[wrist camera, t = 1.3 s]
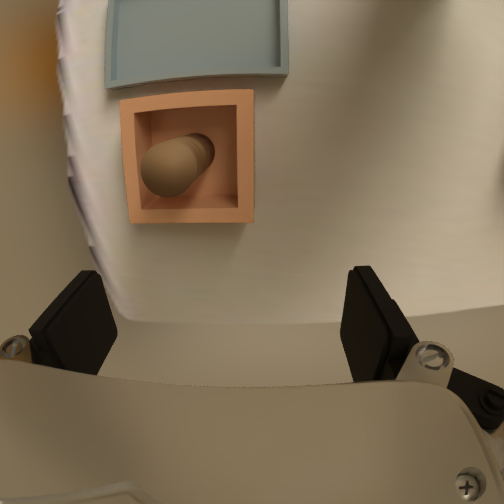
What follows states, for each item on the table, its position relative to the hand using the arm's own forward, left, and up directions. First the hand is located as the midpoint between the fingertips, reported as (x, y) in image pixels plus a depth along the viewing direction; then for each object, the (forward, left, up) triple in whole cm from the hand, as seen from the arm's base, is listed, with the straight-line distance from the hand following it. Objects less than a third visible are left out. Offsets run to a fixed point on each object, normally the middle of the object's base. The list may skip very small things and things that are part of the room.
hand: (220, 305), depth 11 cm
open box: (-2, -6, -26) cm, 27 cm away
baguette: (-2, -6, -25) cm, 26 cm away
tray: (-18, -6, -26) cm, 32 cm away
